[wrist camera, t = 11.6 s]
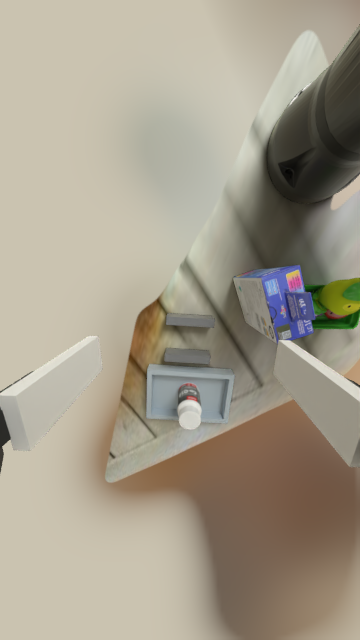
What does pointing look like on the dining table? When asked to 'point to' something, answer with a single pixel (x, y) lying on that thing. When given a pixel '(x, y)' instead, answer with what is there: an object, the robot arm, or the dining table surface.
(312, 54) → the dining table surface
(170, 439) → the dining table surface
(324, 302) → the fruit basket
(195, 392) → the pill bottle
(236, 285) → the ink cartridge box
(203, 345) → the dining table surface
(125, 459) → the dining table surface
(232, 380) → the parts tray
